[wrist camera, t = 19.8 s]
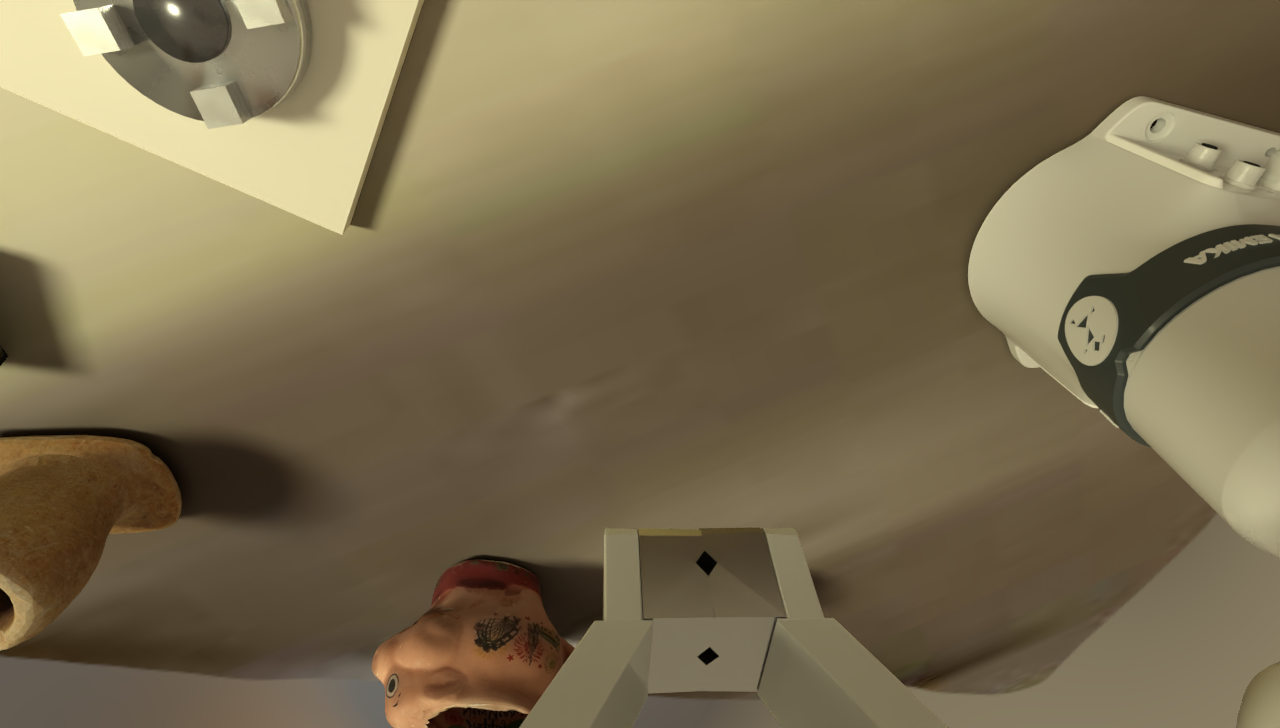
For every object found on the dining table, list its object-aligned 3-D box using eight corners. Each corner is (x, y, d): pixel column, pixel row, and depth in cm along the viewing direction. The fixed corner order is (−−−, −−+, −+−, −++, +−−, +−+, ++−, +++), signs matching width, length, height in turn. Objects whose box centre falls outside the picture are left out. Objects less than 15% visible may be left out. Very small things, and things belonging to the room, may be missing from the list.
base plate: (449, -77, 33) (442, -76, 32) (349, 225, 42) (340, 236, 40) (32, -327, 28) (1, -339, 26) (17, 79, 36) (-7, 86, 35)
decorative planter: (627, 560, 61) (632, 711, 50) (600, 638, 68) (598, 787, 56) (402, 532, 58) (352, 687, 46) (396, 616, 64) (351, 770, 53)
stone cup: (155, 405, 49) (4, 573, 37) (204, 517, 56) (90, 691, 44) (-66, 398, 48) (-298, 570, 36) (11, 514, 55) (-162, 691, 42)
